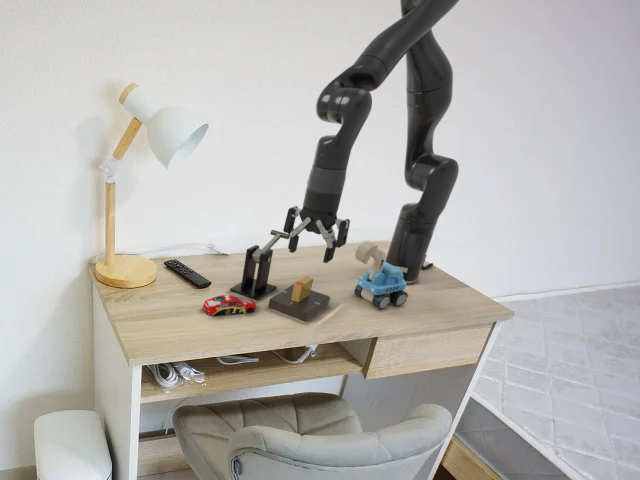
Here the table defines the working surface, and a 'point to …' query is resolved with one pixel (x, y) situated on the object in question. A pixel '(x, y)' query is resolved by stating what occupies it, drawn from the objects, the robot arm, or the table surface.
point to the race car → (228, 305)
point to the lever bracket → (257, 286)
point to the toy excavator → (379, 278)
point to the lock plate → (299, 304)
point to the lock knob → (302, 289)
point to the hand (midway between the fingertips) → (309, 256)
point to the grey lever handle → (269, 244)
